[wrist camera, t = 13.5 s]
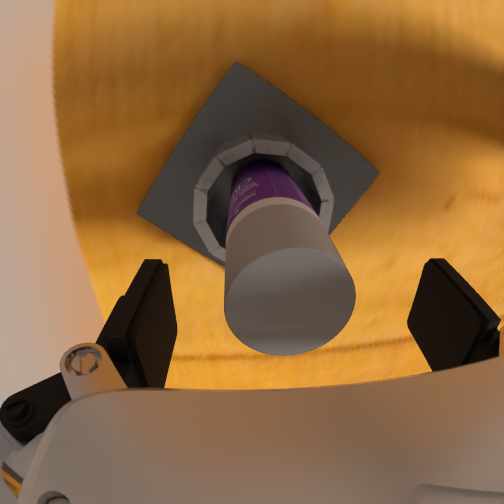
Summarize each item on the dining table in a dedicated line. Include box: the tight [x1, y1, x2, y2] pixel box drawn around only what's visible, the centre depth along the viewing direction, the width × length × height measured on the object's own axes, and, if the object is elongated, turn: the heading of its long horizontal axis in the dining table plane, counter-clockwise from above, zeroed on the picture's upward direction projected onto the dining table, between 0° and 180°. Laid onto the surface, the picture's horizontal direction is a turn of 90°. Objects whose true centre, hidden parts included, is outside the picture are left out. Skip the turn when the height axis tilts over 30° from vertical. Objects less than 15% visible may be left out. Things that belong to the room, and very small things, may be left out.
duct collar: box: [137, 62, 380, 267], centre depth 22 cm, size 14×14×6 cm
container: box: [224, 159, 356, 356], centre depth 17 cm, size 5×5×15 cm
